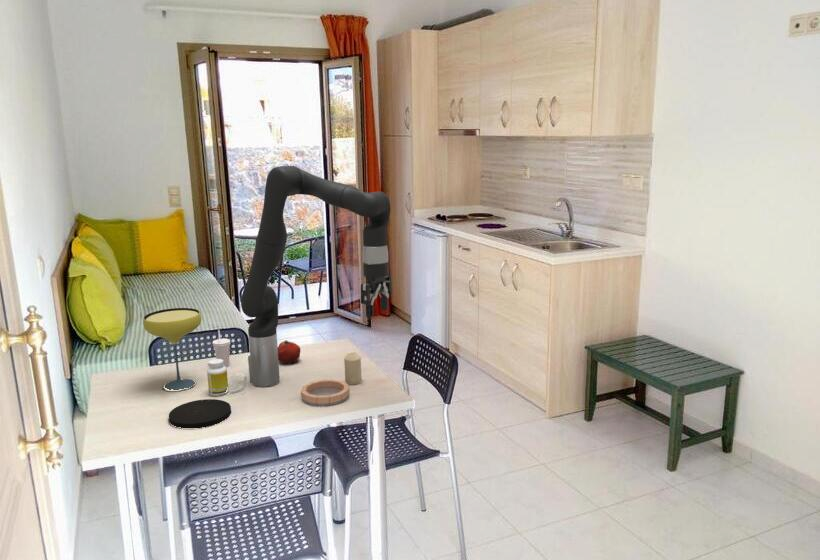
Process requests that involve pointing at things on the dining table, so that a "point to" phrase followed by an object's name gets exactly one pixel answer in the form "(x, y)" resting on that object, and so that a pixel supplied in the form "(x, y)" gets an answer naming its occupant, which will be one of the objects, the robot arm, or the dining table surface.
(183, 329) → the cocktail glass
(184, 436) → the dining table surface
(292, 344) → the tomato
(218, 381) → the pill bottle
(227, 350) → the smoothie
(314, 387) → the dish
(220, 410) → the wireless charger
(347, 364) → the candle
